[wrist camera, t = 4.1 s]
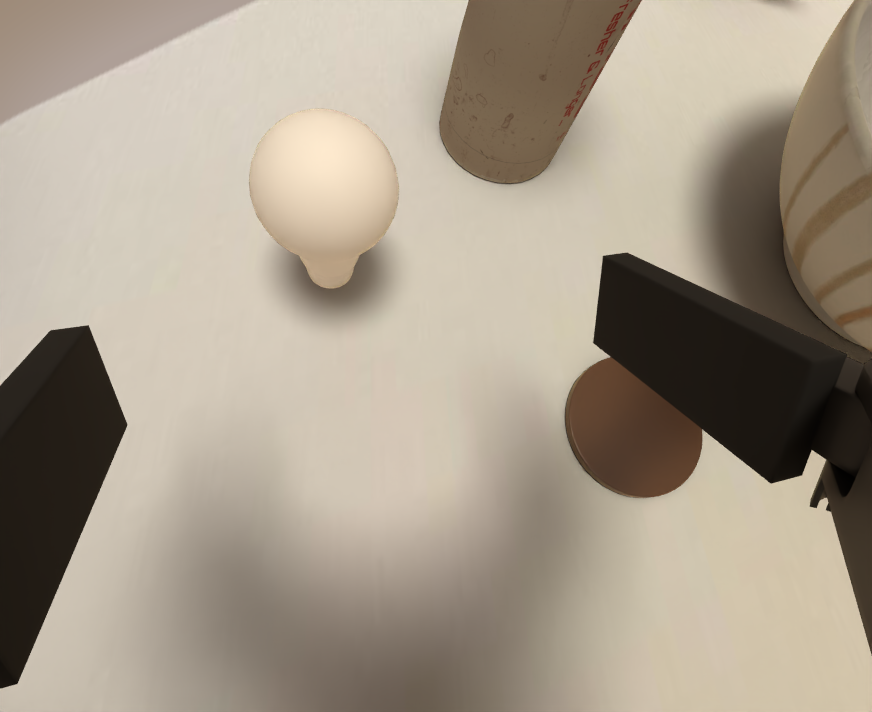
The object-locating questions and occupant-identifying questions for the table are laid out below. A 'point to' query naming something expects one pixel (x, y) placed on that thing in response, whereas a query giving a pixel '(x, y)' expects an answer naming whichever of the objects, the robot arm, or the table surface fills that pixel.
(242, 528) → the table surface
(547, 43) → the thermos bottle
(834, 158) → the decorative bowl
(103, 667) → the table surface
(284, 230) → the lightbulb
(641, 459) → the walnut coaster
